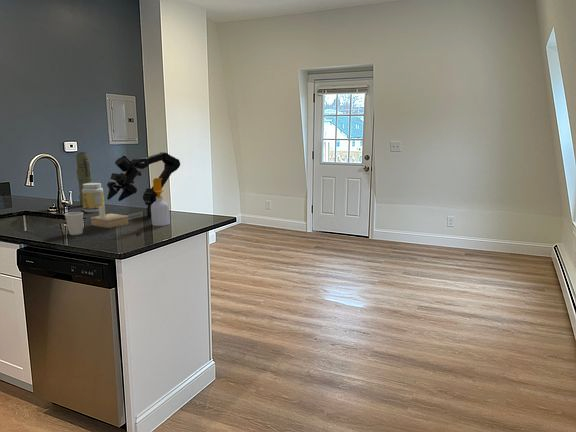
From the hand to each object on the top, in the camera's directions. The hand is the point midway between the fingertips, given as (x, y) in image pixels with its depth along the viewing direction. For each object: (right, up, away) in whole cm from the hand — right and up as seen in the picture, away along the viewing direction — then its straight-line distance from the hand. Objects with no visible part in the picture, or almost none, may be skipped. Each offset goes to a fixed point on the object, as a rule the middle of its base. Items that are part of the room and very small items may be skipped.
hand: (113, 200), depth 230 cm
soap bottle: (+25, -13, 0) cm, 29 cm away
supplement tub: (-28, -5, +42) cm, 51 cm away
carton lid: (-2, -9, -1) cm, 10 cm away
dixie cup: (-10, -17, -19) cm, 28 cm away
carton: (-2, -13, 0) cm, 13 cm away
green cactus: (-42, -1, +62) cm, 75 cm away
